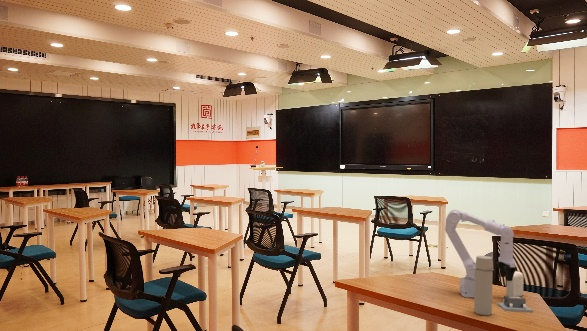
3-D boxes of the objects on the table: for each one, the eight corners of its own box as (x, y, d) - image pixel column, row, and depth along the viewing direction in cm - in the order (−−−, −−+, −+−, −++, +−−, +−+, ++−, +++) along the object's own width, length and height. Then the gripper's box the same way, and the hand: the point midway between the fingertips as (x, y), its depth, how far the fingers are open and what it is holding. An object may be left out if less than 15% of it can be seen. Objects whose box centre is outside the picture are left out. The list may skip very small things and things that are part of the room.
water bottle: (486, 317, 190) (488, 259, 190) (469, 312, 196) (471, 256, 196) (497, 313, 195) (499, 257, 195) (481, 308, 201) (482, 254, 201)
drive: (507, 307, 202) (507, 298, 202) (503, 304, 206) (504, 295, 206) (525, 307, 201) (525, 299, 201) (521, 305, 205) (521, 296, 205)
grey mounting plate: (505, 310, 199) (505, 304, 199) (497, 304, 208) (497, 298, 208) (532, 312, 199) (532, 305, 199) (523, 305, 208) (523, 299, 208)
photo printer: (516, 293, 228) (516, 269, 228) (524, 295, 225) (524, 271, 225) (504, 296, 223) (505, 271, 223) (513, 298, 219) (513, 273, 219)
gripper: (521, 254, 209) (521, 282, 209) (508, 248, 223) (508, 275, 223) (506, 253, 209) (505, 282, 209) (494, 248, 224) (494, 275, 224)
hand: (506, 278), depth 216 cm, fingers open, 7 cm apart
